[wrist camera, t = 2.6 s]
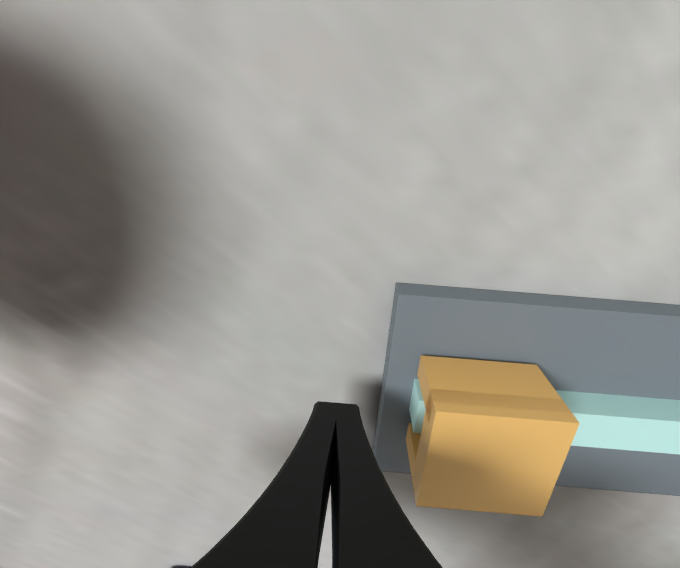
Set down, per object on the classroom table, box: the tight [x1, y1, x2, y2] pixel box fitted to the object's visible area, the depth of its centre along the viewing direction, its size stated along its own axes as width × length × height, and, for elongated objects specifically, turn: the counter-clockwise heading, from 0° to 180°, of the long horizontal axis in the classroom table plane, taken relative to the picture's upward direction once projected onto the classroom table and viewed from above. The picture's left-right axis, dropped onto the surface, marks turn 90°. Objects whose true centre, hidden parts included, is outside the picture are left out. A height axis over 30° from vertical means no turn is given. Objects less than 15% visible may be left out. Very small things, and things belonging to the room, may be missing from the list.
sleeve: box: [406, 355, 580, 517], centre depth 13 cm, size 4×4×3 cm
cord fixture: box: [373, 283, 680, 496], centre depth 13 cm, size 8×20×4 cm, turn 86°
